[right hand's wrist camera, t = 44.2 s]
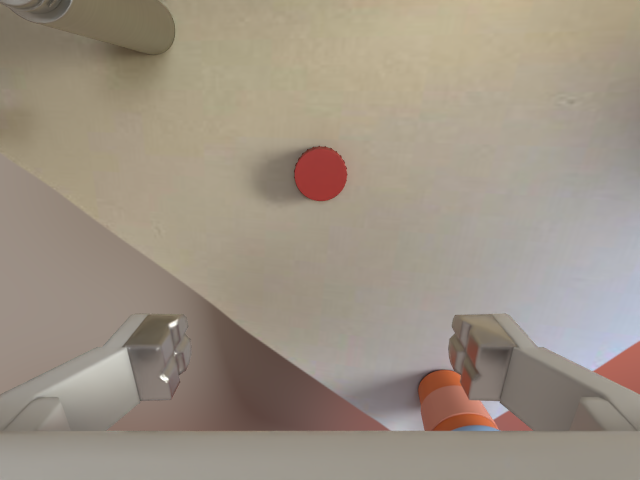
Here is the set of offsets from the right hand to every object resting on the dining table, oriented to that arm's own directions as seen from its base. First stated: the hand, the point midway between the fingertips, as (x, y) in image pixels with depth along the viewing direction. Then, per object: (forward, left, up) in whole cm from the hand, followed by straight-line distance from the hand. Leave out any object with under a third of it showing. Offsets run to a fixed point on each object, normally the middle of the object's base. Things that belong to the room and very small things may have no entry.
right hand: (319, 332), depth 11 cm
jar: (-10, -17, -27) cm, 33 cm away
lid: (0, 0, -25) cm, 25 cm away
